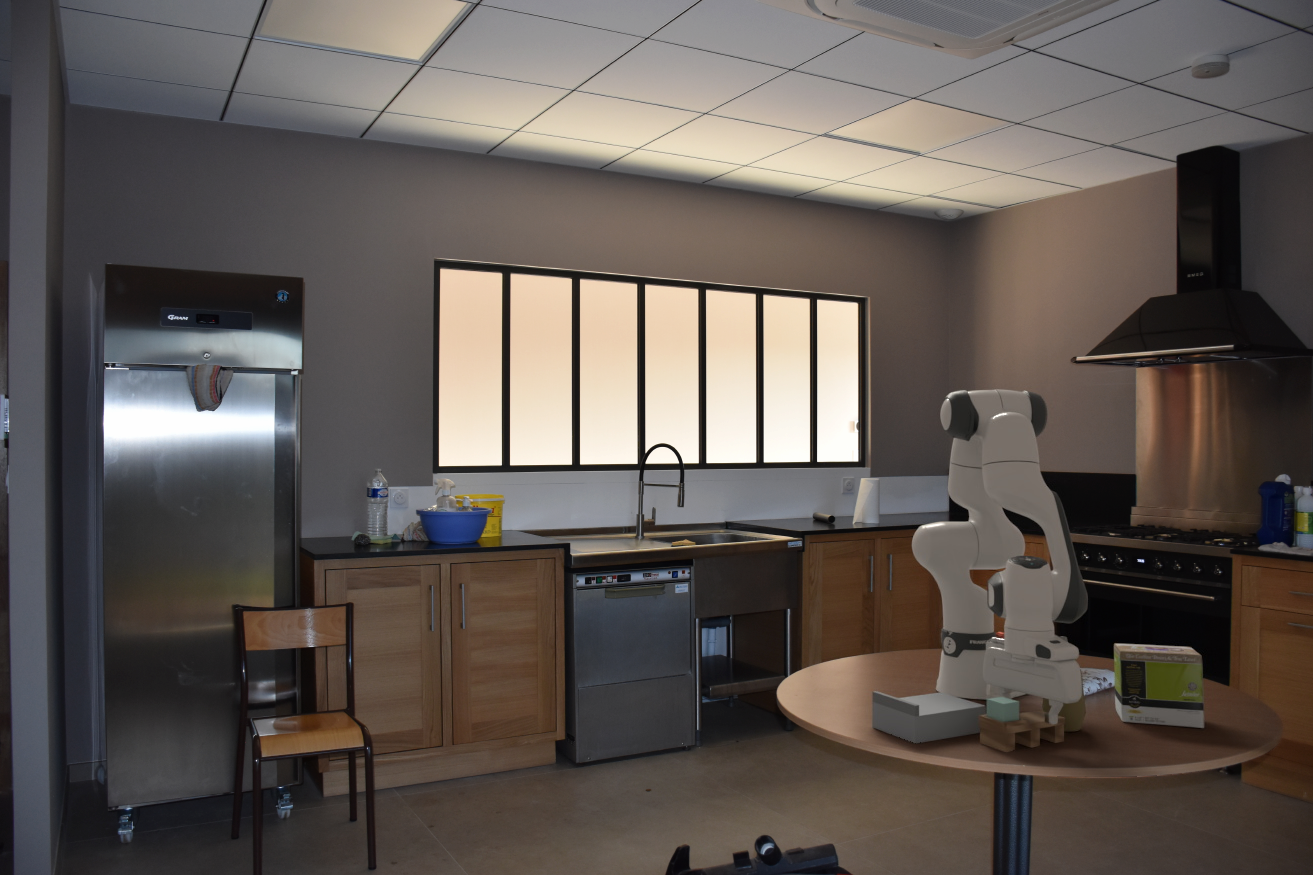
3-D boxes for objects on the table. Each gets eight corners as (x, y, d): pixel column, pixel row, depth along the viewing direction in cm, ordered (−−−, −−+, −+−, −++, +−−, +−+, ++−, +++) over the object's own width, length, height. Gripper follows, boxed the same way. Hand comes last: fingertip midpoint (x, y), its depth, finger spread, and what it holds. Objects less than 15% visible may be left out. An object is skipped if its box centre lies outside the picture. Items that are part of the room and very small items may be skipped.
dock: (940, 716, 193) (940, 682, 193) (985, 731, 182) (985, 695, 182) (872, 727, 185) (872, 691, 185) (915, 743, 174) (915, 705, 174)
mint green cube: (1002, 717, 176) (1002, 696, 176) (1019, 723, 173) (1019, 701, 173) (986, 720, 174) (986, 698, 174) (1003, 725, 171) (1003, 703, 171)
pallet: (1038, 732, 182) (1038, 705, 182) (1065, 740, 177) (1064, 713, 177) (978, 743, 175) (978, 715, 175) (1004, 752, 169) (1004, 723, 169)
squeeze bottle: (1083, 736, 180) (1082, 642, 180) (1038, 729, 184) (1038, 637, 184) (1088, 726, 186) (1088, 635, 187) (1045, 720, 191) (1045, 631, 191)
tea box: (1193, 717, 194) (1193, 645, 195) (1204, 730, 185) (1204, 654, 185) (1113, 710, 199) (1113, 640, 200) (1120, 722, 190) (1120, 649, 190)
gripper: (975, 636, 184) (975, 707, 184) (1062, 653, 166) (1064, 732, 165) (997, 634, 187) (998, 704, 186) (1086, 650, 169) (1088, 728, 168)
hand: (1030, 717), depth 176 cm, fingers open, 8 cm apart
